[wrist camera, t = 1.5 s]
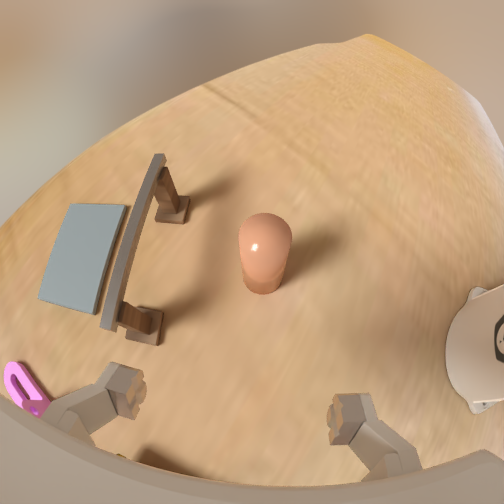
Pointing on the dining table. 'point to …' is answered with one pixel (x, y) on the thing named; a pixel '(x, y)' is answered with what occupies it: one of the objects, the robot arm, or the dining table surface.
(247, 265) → the terracotta cylinder
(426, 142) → the dining table surface
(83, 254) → the pad
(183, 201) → the hurdle posts
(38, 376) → the dining table surface
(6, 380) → the bracket
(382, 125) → the dining table surface
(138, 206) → the metal bar
